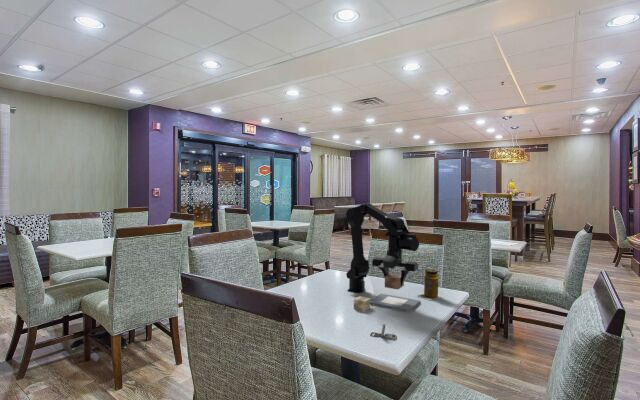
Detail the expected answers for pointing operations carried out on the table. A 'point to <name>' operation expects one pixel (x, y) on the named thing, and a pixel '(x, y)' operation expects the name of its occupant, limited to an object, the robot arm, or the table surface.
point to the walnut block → (393, 281)
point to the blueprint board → (394, 302)
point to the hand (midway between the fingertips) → (394, 284)
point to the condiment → (430, 285)
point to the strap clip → (387, 336)
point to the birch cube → (361, 303)
